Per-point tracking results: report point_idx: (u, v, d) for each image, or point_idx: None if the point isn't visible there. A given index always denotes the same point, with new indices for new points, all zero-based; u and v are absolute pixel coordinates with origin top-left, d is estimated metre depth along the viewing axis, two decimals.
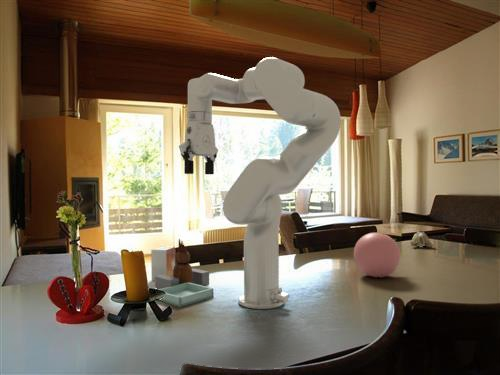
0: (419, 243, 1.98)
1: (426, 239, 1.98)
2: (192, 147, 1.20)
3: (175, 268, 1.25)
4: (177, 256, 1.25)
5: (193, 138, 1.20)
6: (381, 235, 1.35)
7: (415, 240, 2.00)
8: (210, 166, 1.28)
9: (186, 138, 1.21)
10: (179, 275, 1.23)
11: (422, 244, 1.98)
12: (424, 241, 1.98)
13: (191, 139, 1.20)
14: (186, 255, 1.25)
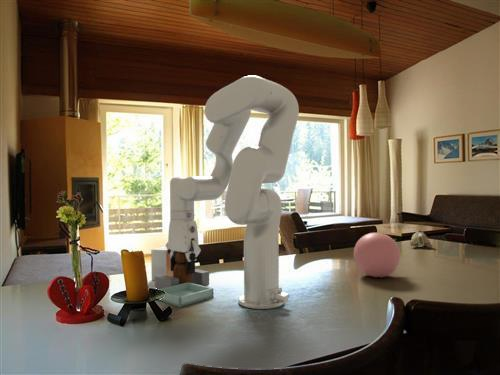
0: (419, 243, 1.98)
1: (426, 239, 1.98)
2: None
3: (175, 268, 1.25)
4: (177, 256, 1.25)
5: (197, 237, 1.25)
6: (381, 235, 1.35)
7: (415, 240, 1.99)
8: None
9: (190, 237, 1.22)
10: (179, 275, 1.23)
11: (422, 244, 1.98)
12: (424, 241, 1.97)
13: (195, 238, 1.24)
14: None
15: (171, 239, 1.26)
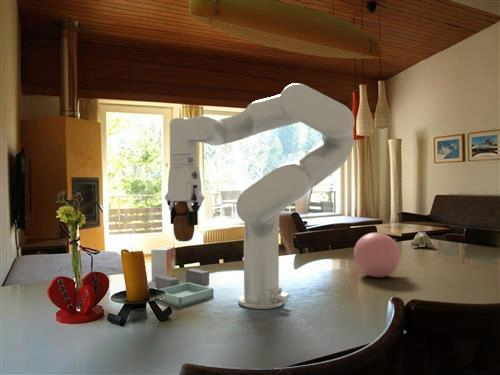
0: (420, 243, 1.97)
1: (427, 239, 1.97)
2: None
3: (175, 219, 1.11)
4: (177, 206, 1.12)
5: (199, 184, 1.11)
6: (381, 235, 1.35)
7: (416, 240, 1.99)
8: None
9: (192, 184, 1.09)
10: (180, 226, 1.10)
11: (423, 244, 1.97)
12: (425, 241, 1.96)
13: (198, 185, 1.11)
14: None
15: (171, 187, 1.13)
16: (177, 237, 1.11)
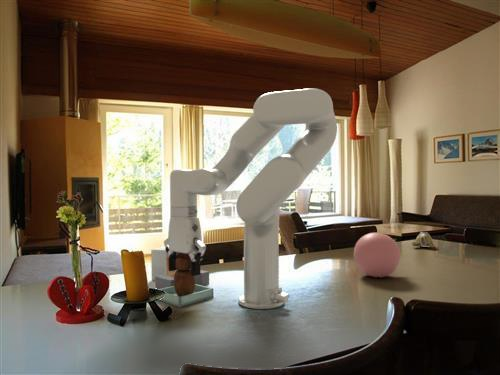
0: (421, 243, 1.97)
1: (428, 240, 1.96)
2: None
3: (176, 276, 1.11)
4: (177, 262, 1.11)
5: (200, 236, 1.12)
6: (381, 235, 1.35)
7: (417, 240, 1.98)
8: None
9: (192, 236, 1.09)
10: (181, 284, 1.10)
11: (424, 245, 1.96)
12: (426, 242, 1.96)
13: (198, 237, 1.11)
14: (188, 261, 1.11)
15: (171, 238, 1.13)
16: (178, 294, 1.11)
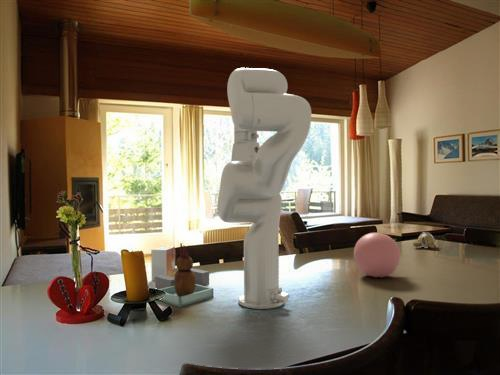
0: (422, 244, 1.96)
1: (429, 240, 1.95)
2: None
3: (176, 276, 1.12)
4: (178, 262, 1.12)
5: None
6: (381, 235, 1.35)
7: (418, 241, 1.98)
8: None
9: (255, 157, 1.27)
10: (181, 283, 1.10)
11: (425, 245, 1.95)
12: (427, 242, 1.95)
13: None
14: (189, 261, 1.12)
15: (235, 161, 1.31)
16: (178, 294, 1.11)
